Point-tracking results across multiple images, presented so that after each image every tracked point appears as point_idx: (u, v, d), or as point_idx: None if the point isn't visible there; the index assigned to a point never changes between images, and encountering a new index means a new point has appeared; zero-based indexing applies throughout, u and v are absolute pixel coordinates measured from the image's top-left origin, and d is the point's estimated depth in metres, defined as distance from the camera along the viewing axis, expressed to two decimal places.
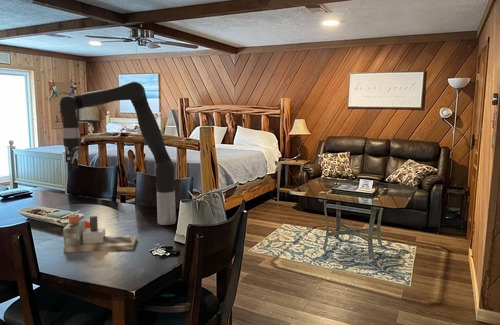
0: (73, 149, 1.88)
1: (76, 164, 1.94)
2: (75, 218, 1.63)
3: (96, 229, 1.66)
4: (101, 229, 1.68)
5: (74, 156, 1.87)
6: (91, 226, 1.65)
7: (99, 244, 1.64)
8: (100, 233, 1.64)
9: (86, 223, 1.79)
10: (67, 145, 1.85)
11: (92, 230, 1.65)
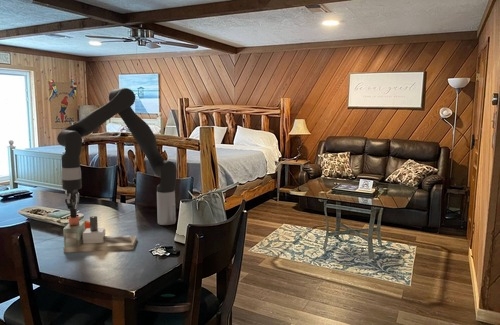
0: (73, 192, 1.61)
1: None
2: (75, 219, 1.63)
3: (96, 229, 1.66)
4: (101, 229, 1.68)
5: (76, 200, 1.62)
6: (91, 226, 1.65)
7: (99, 244, 1.64)
8: (100, 233, 1.64)
9: (86, 223, 1.79)
10: (66, 188, 1.59)
11: (92, 230, 1.65)
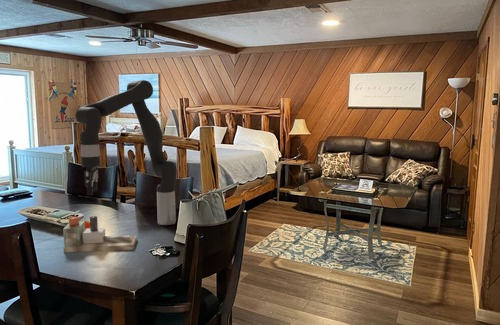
0: (92, 169, 1.61)
1: (95, 186, 1.67)
2: (75, 220, 1.63)
3: (96, 229, 1.66)
4: (101, 229, 1.68)
5: (94, 178, 1.61)
6: (91, 226, 1.65)
7: (99, 244, 1.64)
8: (100, 233, 1.64)
9: (86, 223, 1.79)
10: (86, 165, 1.58)
11: (92, 230, 1.65)
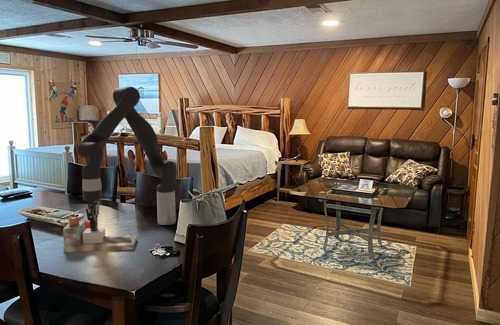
0: (94, 203, 1.63)
1: None
2: (75, 220, 1.63)
3: (96, 229, 1.66)
4: (101, 229, 1.68)
5: (96, 211, 1.64)
6: None
7: (99, 244, 1.64)
8: (100, 233, 1.64)
9: (86, 223, 1.79)
10: (87, 199, 1.61)
11: (92, 230, 1.65)
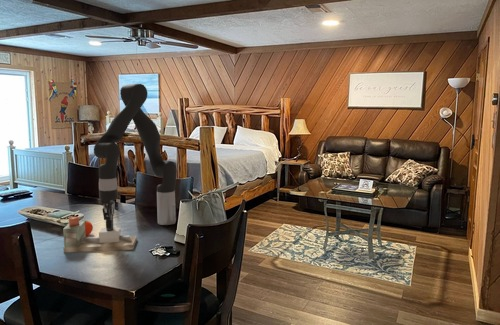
0: (110, 202, 1.64)
1: None
2: (75, 220, 1.63)
3: (112, 228, 1.67)
4: (117, 228, 1.69)
5: (112, 211, 1.65)
6: None
7: (99, 244, 1.64)
8: (116, 232, 1.65)
9: (86, 223, 1.79)
10: (104, 198, 1.62)
11: (108, 229, 1.66)
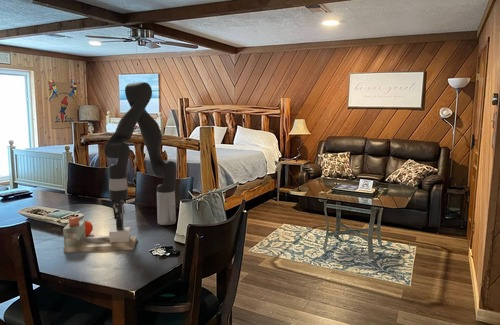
0: (120, 202, 1.65)
1: None
2: (75, 220, 1.63)
3: (122, 228, 1.67)
4: (127, 228, 1.69)
5: (122, 210, 1.65)
6: None
7: (99, 244, 1.64)
8: (126, 232, 1.66)
9: (86, 223, 1.79)
10: (114, 198, 1.62)
11: (118, 229, 1.67)
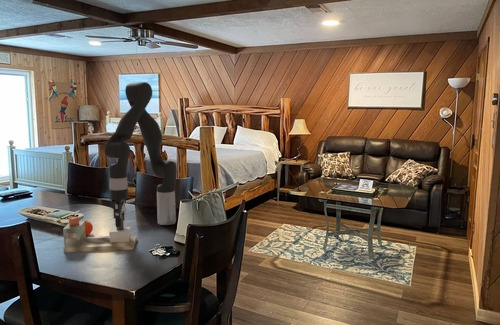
0: (121, 202, 1.65)
1: (123, 216, 1.71)
2: (75, 220, 1.63)
3: (122, 228, 1.67)
4: (127, 228, 1.69)
5: (122, 210, 1.64)
6: None
7: (99, 244, 1.64)
8: (126, 232, 1.66)
9: (86, 223, 1.79)
10: (115, 198, 1.62)
11: (118, 229, 1.67)
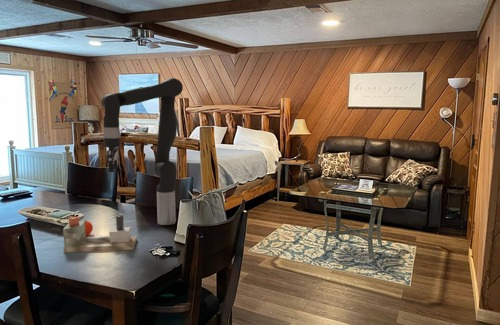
0: (114, 149, 1.81)
1: (116, 164, 1.88)
2: (75, 220, 1.63)
3: (122, 228, 1.67)
4: (127, 228, 1.69)
5: (115, 157, 1.81)
6: (117, 225, 1.66)
7: (99, 244, 1.64)
8: (126, 232, 1.66)
9: (86, 223, 1.79)
10: (108, 145, 1.79)
11: (118, 229, 1.67)
